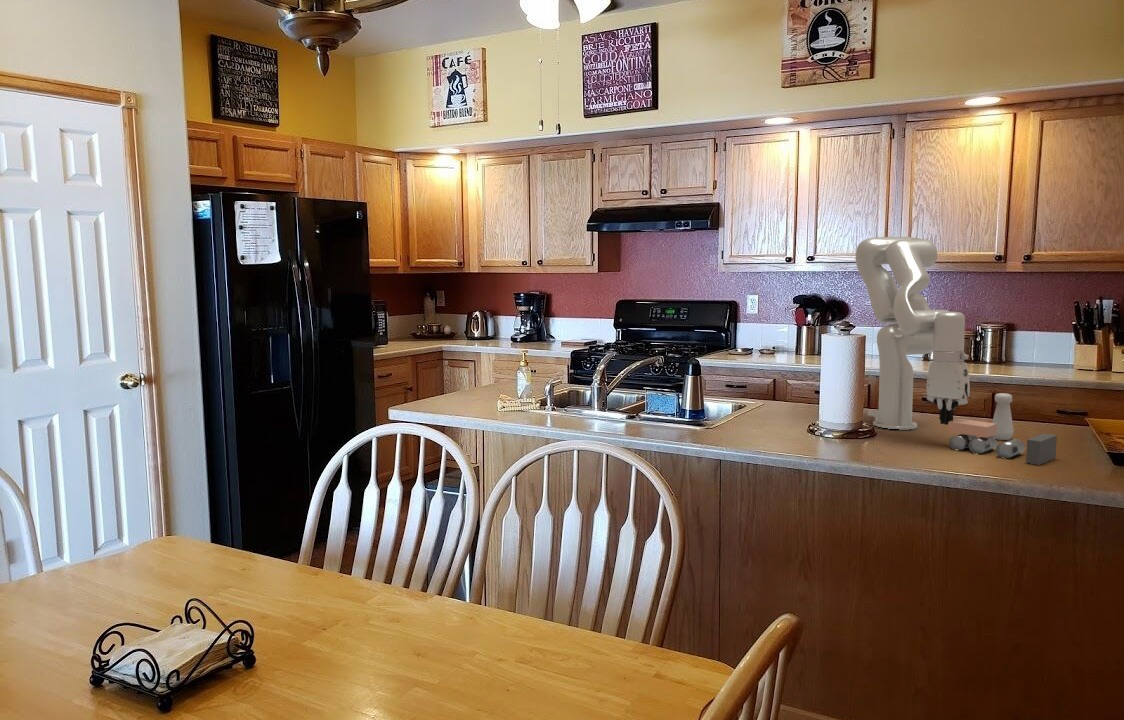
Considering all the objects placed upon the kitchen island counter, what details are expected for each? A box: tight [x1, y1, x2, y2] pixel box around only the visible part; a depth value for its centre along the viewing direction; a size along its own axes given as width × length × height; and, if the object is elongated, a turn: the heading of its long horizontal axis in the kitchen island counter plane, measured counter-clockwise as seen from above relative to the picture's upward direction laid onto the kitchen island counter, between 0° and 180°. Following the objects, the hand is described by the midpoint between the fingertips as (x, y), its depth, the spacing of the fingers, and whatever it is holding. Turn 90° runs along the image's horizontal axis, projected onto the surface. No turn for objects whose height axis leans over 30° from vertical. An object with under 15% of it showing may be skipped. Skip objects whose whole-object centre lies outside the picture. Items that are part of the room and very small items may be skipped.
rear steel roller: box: [948, 434, 978, 451], centre depth 211 cm, size 4×8×4 cm, turn 128°
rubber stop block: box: [1025, 433, 1058, 466], centre depth 196 cm, size 3×10×6 cm, turn 128°
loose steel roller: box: [995, 438, 1026, 459], centre depth 202 cm, size 4×8×4 cm, turn 128°
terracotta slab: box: [947, 418, 997, 438], centre depth 209 cm, size 10×6×3 cm, turn 38°
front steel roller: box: [968, 436, 998, 455], centre depth 207 cm, size 4×8×4 cm, turn 128°
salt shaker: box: [991, 392, 1015, 441], centre depth 220 cm, size 6×6×13 cm
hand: (946, 423), depth 214 cm, fingers closed
